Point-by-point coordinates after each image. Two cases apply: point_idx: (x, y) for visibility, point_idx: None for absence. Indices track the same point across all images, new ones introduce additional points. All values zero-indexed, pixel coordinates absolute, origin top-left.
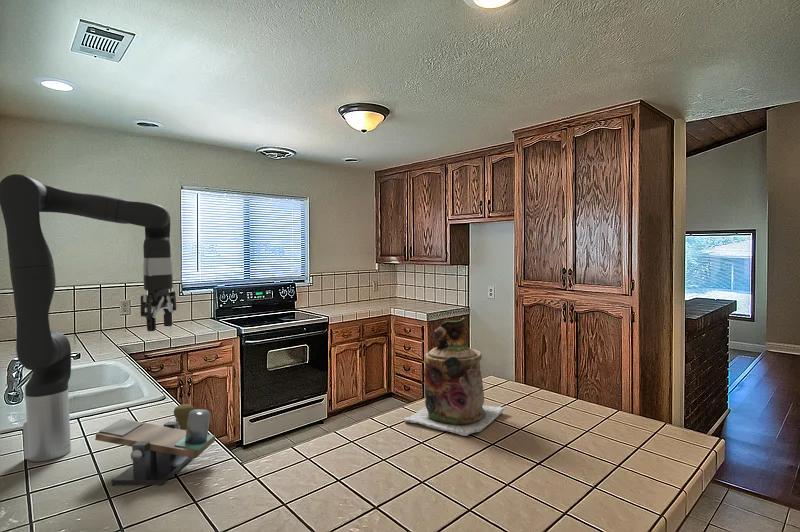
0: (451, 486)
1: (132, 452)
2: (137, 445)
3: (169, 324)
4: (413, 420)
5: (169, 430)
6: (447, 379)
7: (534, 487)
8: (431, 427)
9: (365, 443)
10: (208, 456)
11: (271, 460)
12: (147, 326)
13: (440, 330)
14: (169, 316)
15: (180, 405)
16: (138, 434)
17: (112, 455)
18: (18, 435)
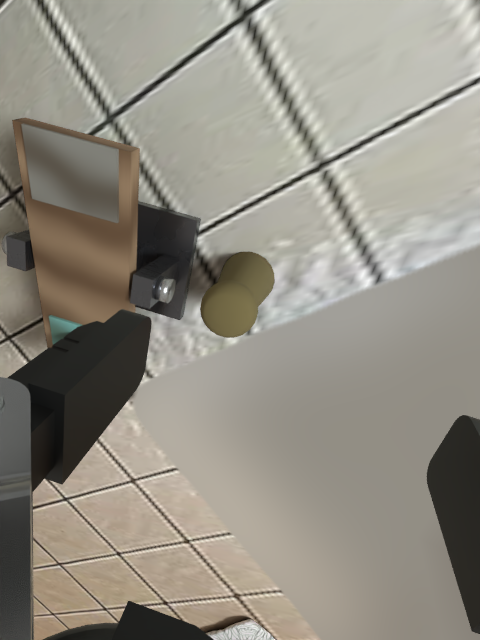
0: (49, 579)
1: (4, 238)
2: (7, 248)
3: (437, 475)
4: (231, 629)
5: (112, 292)
6: None
7: (47, 625)
8: (208, 632)
9: (175, 553)
10: (165, 337)
11: (133, 435)
12: (67, 340)
13: None
14: (466, 577)
15: (225, 307)
16: (61, 230)
17: (212, 100)
18: None
